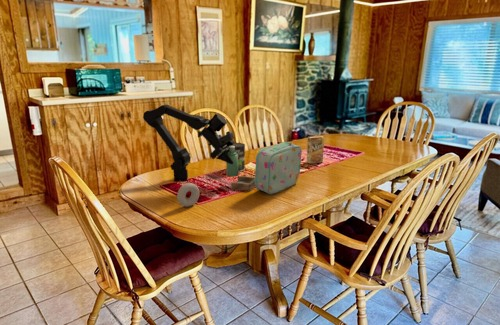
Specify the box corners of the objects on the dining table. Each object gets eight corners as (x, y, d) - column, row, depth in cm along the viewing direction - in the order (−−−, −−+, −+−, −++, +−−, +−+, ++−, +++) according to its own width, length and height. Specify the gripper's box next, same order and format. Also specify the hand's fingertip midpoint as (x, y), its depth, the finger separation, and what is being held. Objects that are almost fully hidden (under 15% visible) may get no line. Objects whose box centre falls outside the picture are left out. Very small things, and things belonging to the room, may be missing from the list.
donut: (197, 201, 150) (196, 179, 147) (201, 204, 148) (200, 181, 145) (176, 208, 144) (174, 185, 141) (180, 210, 141) (179, 187, 139)
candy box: (309, 163, 205) (310, 138, 201) (306, 161, 209) (307, 136, 205) (323, 162, 208) (324, 137, 203) (319, 160, 211) (321, 135, 207)
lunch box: (284, 178, 180) (286, 137, 174) (302, 182, 174) (304, 140, 168) (252, 192, 160) (252, 147, 154) (270, 198, 154) (271, 151, 148)
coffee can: (247, 171, 191) (247, 146, 187) (228, 172, 188) (228, 147, 185) (242, 166, 201) (242, 142, 197) (224, 167, 198) (224, 143, 194)
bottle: (231, 177, 165) (230, 148, 161) (224, 174, 170) (223, 146, 166) (240, 175, 169) (240, 146, 165) (233, 172, 173) (233, 144, 169)
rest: (231, 188, 165) (231, 182, 165) (238, 181, 175) (238, 175, 174) (250, 190, 163) (250, 184, 162) (257, 183, 172) (257, 177, 172)
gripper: (215, 130, 155) (239, 156, 155) (230, 123, 172) (252, 146, 172) (200, 146, 160) (223, 171, 160) (216, 138, 177) (237, 160, 177)
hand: (234, 162), depth 167 cm, fingers closed on bottle, 6 cm apart
